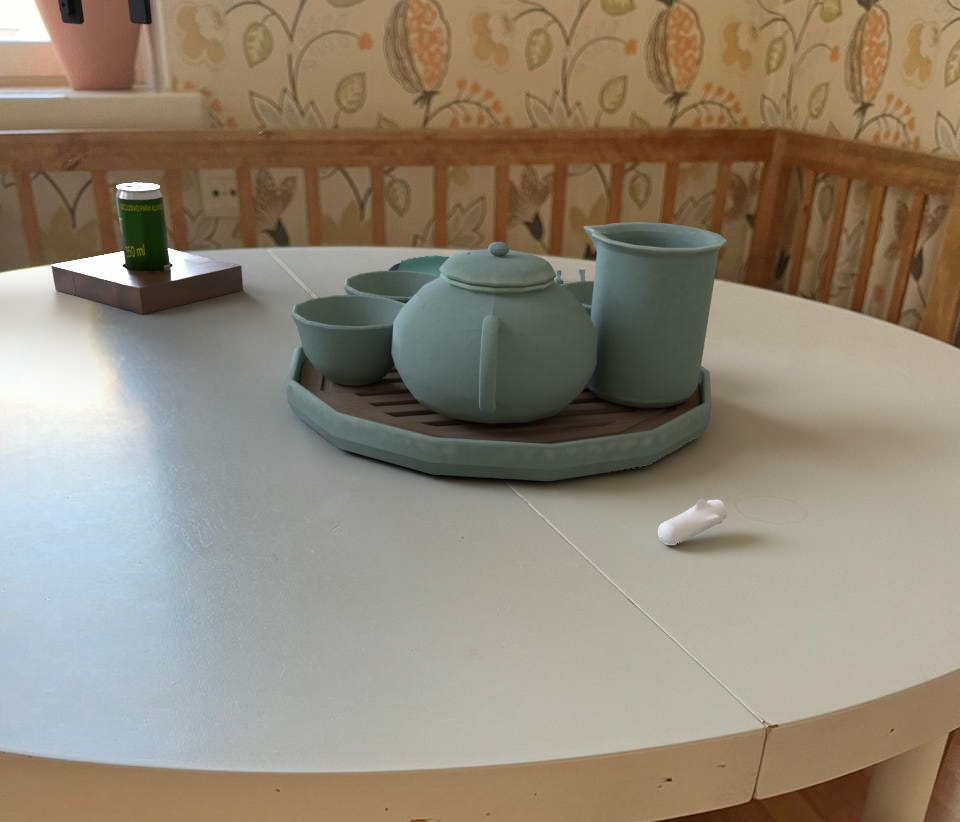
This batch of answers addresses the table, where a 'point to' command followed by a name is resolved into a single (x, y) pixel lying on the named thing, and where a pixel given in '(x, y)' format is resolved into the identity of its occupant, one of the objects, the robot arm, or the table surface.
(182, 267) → the holder
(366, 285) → the tea set
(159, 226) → the beer can
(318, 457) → the table surface
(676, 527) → the small white plastic part
